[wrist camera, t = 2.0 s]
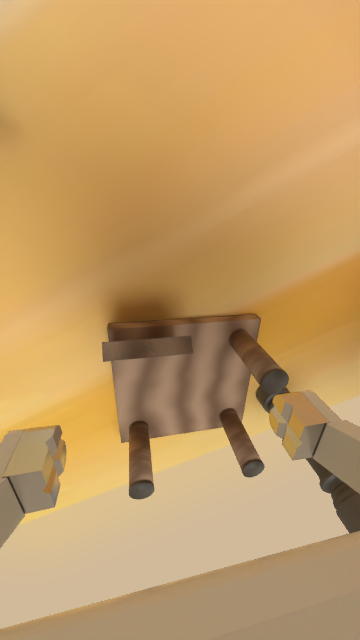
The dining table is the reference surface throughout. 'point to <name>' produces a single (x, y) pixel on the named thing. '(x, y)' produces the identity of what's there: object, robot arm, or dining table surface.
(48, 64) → the dining table surface
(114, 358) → the hinged leg
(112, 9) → the dining table surface
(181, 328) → the stool
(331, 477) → the candle holder
